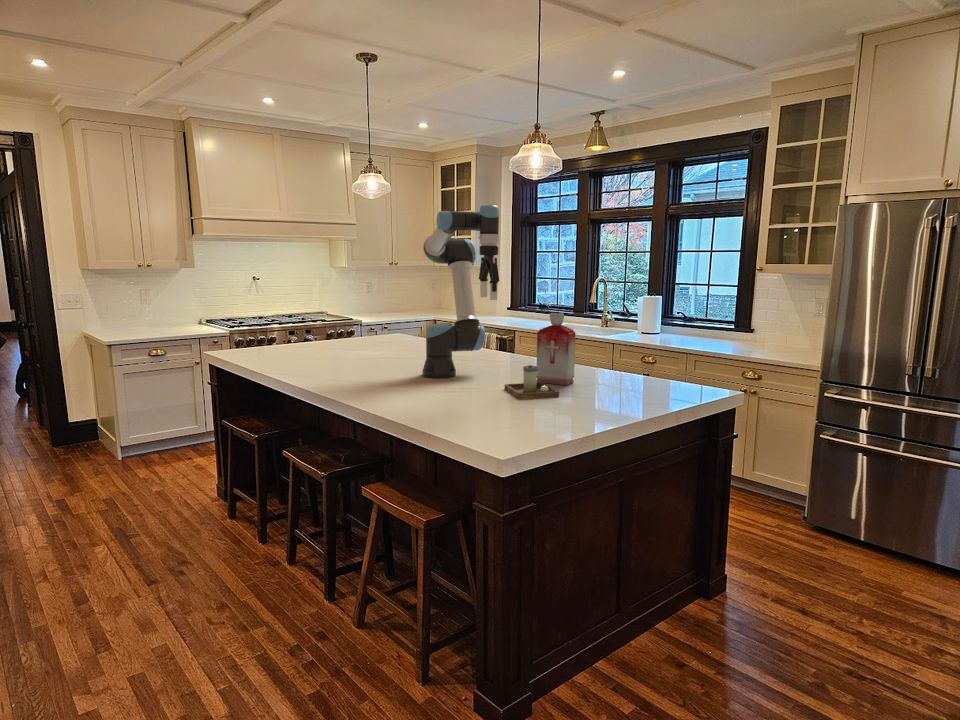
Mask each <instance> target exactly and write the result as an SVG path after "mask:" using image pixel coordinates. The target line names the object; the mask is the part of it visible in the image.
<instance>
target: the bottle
mask: <svg viewBox="0 0 960 720" xmlns="http://www.w3.org/2000/svg"><path fill="white" fill-rule="evenodd" d="M549 318H550V319H549V321H550V324H551V325H548V326H546V327H543V328H540V329H539V330H538V331H536V332H537V333H536V334H537V335H536V336H537V337H536V367H537V382H542V383H544V384H546V385H549V384H550V385H555V386H556V385H557V386H565V387H566V386H569V385H571V384H574V382H575V381H574V377H575V361H576V360H575V359H576V332H575V331H574V329H572V328H570V327H568V326H565V325H562V324H563V323H564V319H565V315H564V313H560V312H552V313H550V314H549Z"/></svg>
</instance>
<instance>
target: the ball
mask: <svg viewBox="0 0 960 720" xmlns="http://www.w3.org/2000/svg"><path fill="white" fill-rule="evenodd" d="M547 386H548V385H547ZM547 386H545V385H543V386H541V387H540V392H549V388H548V387H547Z"/></svg>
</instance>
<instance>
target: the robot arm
mask: <svg viewBox="0 0 960 720" xmlns="http://www.w3.org/2000/svg"><path fill="white" fill-rule="evenodd" d="M499 209H500V208H499V206H498V205H493V204H492V205H491V204H490V205H489V204H485V205H480V207H479V211H462V210H461V211H455V210H441V211H438V212H437V214H436V227H435V229H434V231H433V232H432V234H431V235H430V236H428V237H426V238H425V240H424V243H423V248H422V249H423V252H424V255H425V256H426V258H428V260H430V261H431V262H433V263H436V264H445V265H446V264H447V269H448V270H449V271H451V277H452V287H453V294H454V295H453V296H454V305H455V313H456V314H455V315H456V320H455V321H454V322H453V324H452V322H438V323H434V324H430V325H429V326H428V325H427V327H426V331H425V345H426V346H425V349H426V351H425V355H426V356H425V358H426V359H425V362H424V365H423V368H422V376H423V377H425V378H432V379H445V378H452V377H455V376H456V375H457V369H456V366H455V364H454V360H453V352H473V351H480V350H481V349H482V348H483V346H484V343H485V339H486V337H485V336H486V328H485V326H484V325H483V324H480V319H478V318H477V317H476V310H475V309H476V308H475V302H474V293H473V285H472V275H471V268H472V267H473V264H474V263H475V262H476V257H477V256H476V246H475V245H474V243H473V241H472V240H471V239H469V238H462V237H460V238H454V237H453V235H454V234H455V233H456V231H476V232H479V236H478V240H479V255H480V256H481V258H480V267H479V275H478V280H479V281H480V284H479V285H480V295H479V296H480V298H488V281H489V300H490V301H497V300H498V283H499V282H500V277H499V276H500V275H499V268H498V258H497V257H495V256H498V255H499V243H500V242H499V239H500V236H499V228H500V227H499V226H500V224H499V222H500V221H499V220H500V219H499V218H500V213H499V212H500V211H499ZM482 256H483V257H482ZM488 276H489V279H490V280H489V279H488Z"/></svg>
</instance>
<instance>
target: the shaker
mask: <svg viewBox="0 0 960 720" xmlns="http://www.w3.org/2000/svg"><path fill="white" fill-rule="evenodd" d="M522 370H523V381H522V382H523V392H524V393H536V391H537V365H531V364H529V365H524V366H523V367H522Z"/></svg>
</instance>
